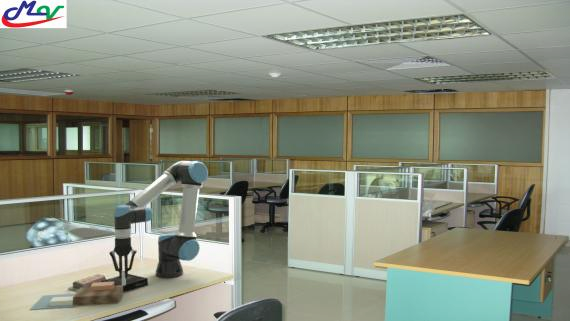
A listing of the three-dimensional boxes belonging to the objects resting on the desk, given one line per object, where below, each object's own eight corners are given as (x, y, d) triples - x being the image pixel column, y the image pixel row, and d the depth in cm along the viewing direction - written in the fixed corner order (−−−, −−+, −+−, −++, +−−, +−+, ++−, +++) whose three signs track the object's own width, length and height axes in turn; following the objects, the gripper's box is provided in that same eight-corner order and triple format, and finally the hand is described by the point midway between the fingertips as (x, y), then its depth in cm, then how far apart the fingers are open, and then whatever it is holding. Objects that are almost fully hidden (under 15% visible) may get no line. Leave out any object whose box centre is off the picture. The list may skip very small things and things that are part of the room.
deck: (123, 293, 244) (122, 285, 244) (118, 302, 229) (118, 294, 229) (80, 295, 241) (80, 287, 240) (73, 305, 226) (72, 297, 226)
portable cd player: (127, 280, 267) (126, 273, 267) (147, 285, 258) (147, 278, 258) (100, 288, 254) (100, 280, 254) (121, 294, 244) (121, 286, 244)
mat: (82, 293, 243) (82, 293, 243) (72, 307, 224) (72, 306, 224) (43, 296, 240) (43, 295, 240) (29, 310, 221) (29, 309, 221)
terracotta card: (114, 285, 243) (114, 281, 243) (112, 289, 237) (112, 285, 237) (93, 287, 241) (93, 282, 241) (90, 290, 235) (90, 286, 235)
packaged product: (95, 272, 266) (108, 275, 261) (95, 281, 266) (109, 283, 262) (67, 281, 250) (81, 283, 245) (67, 290, 250) (81, 293, 246)
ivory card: (76, 300, 232) (75, 296, 232) (72, 304, 226) (72, 300, 226) (53, 301, 230) (53, 297, 230) (49, 306, 225) (49, 301, 224)
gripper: (107, 239, 235) (108, 287, 236) (135, 238, 237) (136, 286, 238) (110, 236, 242) (111, 283, 243) (137, 235, 244) (138, 281, 245)
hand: (123, 284), depth 241 cm, fingers closed
